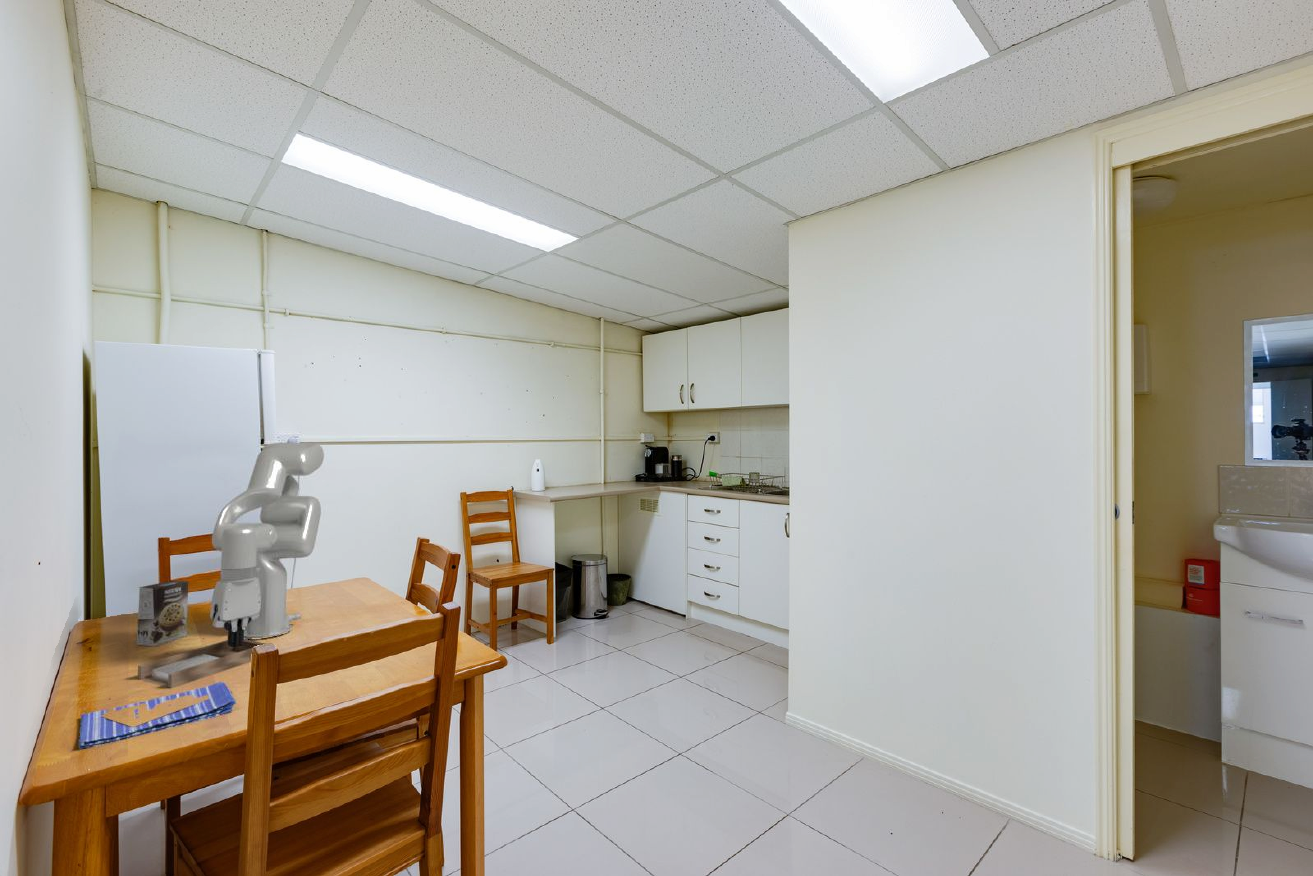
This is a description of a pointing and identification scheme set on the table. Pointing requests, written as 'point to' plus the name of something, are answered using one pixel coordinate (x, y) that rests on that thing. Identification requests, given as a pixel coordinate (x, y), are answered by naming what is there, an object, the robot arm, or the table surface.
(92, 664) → the table surface
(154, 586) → the cookie box
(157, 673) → the cover plate
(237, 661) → the walnut box
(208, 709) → the dish towel
